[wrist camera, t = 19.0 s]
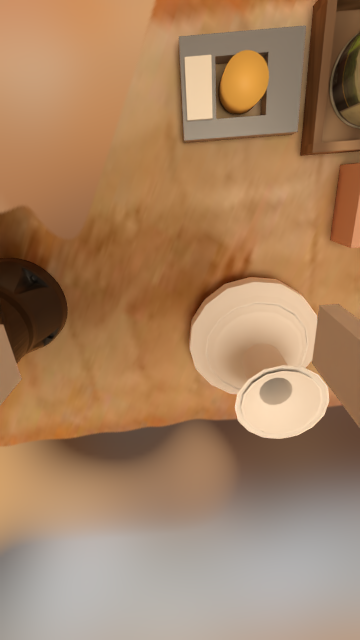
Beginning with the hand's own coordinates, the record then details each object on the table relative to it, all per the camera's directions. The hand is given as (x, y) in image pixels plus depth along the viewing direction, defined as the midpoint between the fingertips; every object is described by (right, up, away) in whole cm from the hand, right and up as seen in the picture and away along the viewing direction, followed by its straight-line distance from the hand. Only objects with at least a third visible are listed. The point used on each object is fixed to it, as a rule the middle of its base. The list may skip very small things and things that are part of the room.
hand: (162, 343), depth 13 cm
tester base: (+8, +29, +25) cm, 39 cm away
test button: (+8, +29, +24) cm, 38 cm away
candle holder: (+12, 0, +39) cm, 40 cm away
